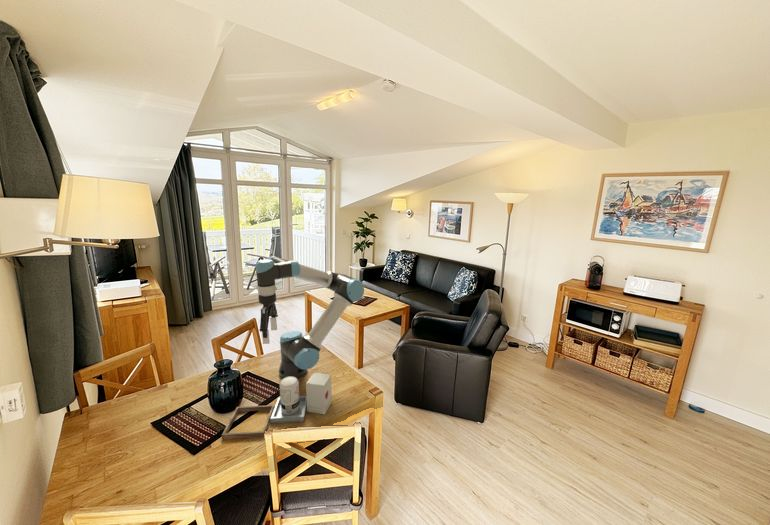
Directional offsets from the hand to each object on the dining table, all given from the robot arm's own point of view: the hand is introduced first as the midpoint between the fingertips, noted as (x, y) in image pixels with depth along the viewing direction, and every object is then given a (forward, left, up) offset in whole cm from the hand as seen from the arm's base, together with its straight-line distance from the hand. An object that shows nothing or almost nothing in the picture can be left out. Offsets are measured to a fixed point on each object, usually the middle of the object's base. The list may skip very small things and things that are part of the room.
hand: (270, 336), depth 143 cm
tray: (+12, +10, -32) cm, 35 cm away
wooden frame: (+18, -6, -32) cm, 37 cm away
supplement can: (+12, +10, -31) cm, 35 cm away
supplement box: (+10, +23, -32) cm, 41 cm away
